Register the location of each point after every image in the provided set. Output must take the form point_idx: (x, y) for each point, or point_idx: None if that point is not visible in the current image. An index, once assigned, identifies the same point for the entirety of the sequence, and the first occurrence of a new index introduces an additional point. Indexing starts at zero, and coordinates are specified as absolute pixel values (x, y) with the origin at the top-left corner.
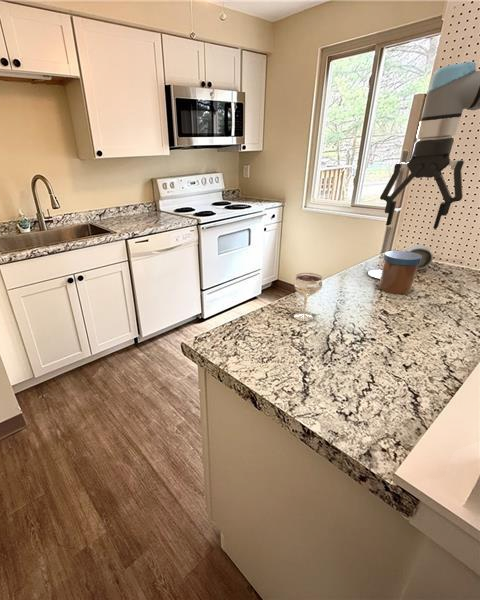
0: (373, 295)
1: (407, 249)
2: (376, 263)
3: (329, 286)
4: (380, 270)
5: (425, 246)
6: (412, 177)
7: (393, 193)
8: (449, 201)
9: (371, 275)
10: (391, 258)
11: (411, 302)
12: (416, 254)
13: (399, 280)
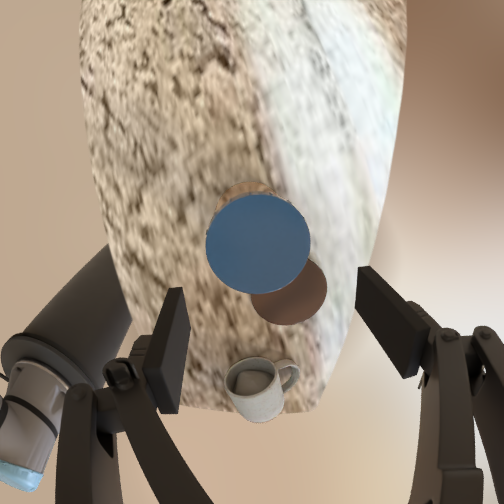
0: (274, 141)
1: (280, 402)
2: (323, 354)
3: (373, 142)
4: (306, 312)
5: (251, 419)
6: (446, 495)
7: (462, 367)
8: (110, 371)
9: (315, 268)
10: (280, 198)
11: (194, 151)
12: (227, 273)
13: (238, 189)
